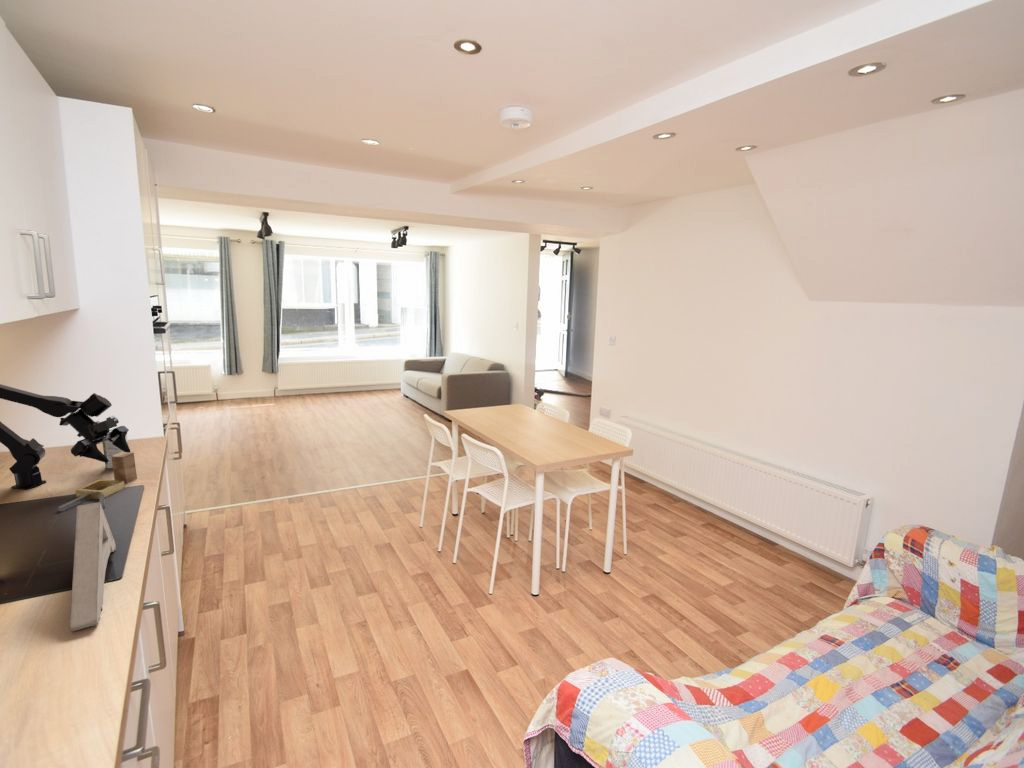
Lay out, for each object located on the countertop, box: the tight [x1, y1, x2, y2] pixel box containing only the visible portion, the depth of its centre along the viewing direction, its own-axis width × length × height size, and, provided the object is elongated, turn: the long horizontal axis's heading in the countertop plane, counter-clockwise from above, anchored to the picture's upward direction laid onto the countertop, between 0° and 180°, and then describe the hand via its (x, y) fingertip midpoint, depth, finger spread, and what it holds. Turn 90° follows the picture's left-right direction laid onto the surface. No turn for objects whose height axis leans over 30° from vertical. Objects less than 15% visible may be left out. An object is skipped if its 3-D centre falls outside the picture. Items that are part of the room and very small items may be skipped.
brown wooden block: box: [111, 452, 138, 485], centre depth 178 cm, size 4×4×10 cm
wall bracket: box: [69, 501, 117, 632], centre depth 121 cm, size 22×4×30 cm
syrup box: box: [101, 427, 129, 469], centre depth 191 cm, size 6×6×14 cm
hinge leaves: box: [57, 478, 126, 513], centre depth 164 cm, size 15×19×2 cm
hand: (118, 457), depth 178 cm, fingers open, 9 cm apart
